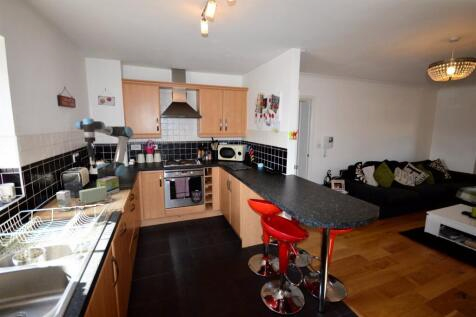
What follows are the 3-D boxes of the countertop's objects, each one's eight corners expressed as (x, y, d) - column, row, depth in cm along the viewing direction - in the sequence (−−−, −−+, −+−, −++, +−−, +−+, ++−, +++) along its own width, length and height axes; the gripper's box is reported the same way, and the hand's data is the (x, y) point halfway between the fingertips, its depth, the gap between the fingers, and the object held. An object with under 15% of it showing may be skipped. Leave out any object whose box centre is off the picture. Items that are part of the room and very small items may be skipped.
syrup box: (72, 208, 159) (70, 190, 157) (66, 212, 153) (64, 192, 151) (64, 208, 159) (62, 190, 157) (58, 212, 153) (55, 192, 151)
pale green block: (104, 197, 177) (103, 186, 175) (107, 199, 173) (106, 187, 172) (80, 203, 163) (79, 190, 162) (82, 204, 160) (81, 192, 159)
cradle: (106, 198, 181) (106, 192, 180) (112, 202, 174) (112, 195, 173) (75, 206, 164) (74, 199, 163) (80, 210, 157) (79, 203, 156)
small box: (84, 195, 188) (82, 182, 187) (76, 198, 182) (74, 184, 180) (73, 194, 192) (71, 181, 190) (65, 196, 186) (63, 183, 184)
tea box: (107, 196, 187) (105, 180, 184) (97, 195, 189) (95, 179, 186) (119, 191, 201) (118, 176, 199) (110, 190, 203) (109, 175, 201)
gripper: (82, 136, 181) (84, 164, 185) (87, 137, 173) (90, 165, 177) (92, 136, 187) (94, 162, 191) (97, 137, 179) (100, 164, 183)
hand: (92, 164), depth 184 cm, fingers closed
